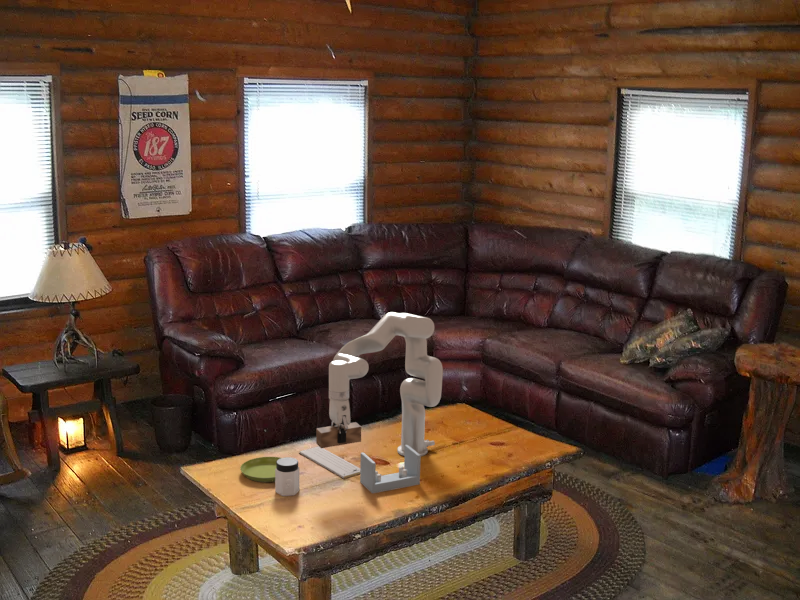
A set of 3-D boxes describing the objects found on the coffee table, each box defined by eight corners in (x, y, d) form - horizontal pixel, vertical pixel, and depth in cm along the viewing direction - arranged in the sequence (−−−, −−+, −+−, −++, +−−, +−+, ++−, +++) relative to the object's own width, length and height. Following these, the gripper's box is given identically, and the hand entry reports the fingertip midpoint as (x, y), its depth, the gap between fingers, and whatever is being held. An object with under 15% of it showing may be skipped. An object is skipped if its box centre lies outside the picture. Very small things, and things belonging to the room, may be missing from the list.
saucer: (304, 476, 356) (304, 468, 355) (259, 490, 342) (259, 482, 342) (274, 459, 371) (274, 451, 370) (230, 472, 358) (230, 464, 357)
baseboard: (323, 448, 384) (299, 454, 377) (323, 441, 384) (299, 448, 376) (368, 472, 361) (343, 480, 354) (368, 465, 360) (343, 473, 353)
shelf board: (355, 436, 348) (356, 422, 346) (361, 441, 344) (361, 426, 342) (316, 443, 341) (316, 428, 340) (321, 448, 337) (321, 433, 335)
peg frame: (406, 473, 360) (407, 444, 357) (419, 484, 350) (420, 455, 347) (360, 482, 351) (360, 452, 348) (372, 493, 341) (372, 463, 339)
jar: (276, 497, 337) (276, 466, 334) (274, 487, 344) (274, 457, 342) (300, 495, 339) (300, 465, 336) (298, 485, 346) (298, 456, 344)
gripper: (357, 399, 332) (357, 446, 336) (339, 385, 347) (339, 430, 351) (338, 402, 329) (338, 449, 333) (321, 388, 344) (321, 433, 348)
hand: (338, 439), depth 342 cm, fingers closed on shelf board, 5 cm apart
